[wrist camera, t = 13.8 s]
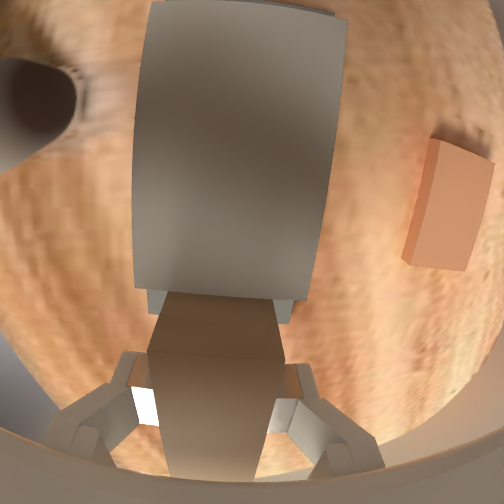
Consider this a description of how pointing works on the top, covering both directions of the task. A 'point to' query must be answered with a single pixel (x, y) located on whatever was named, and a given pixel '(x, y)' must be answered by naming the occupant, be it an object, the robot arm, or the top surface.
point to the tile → (448, 207)
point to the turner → (228, 211)
